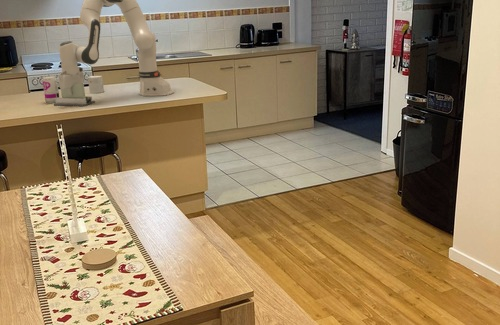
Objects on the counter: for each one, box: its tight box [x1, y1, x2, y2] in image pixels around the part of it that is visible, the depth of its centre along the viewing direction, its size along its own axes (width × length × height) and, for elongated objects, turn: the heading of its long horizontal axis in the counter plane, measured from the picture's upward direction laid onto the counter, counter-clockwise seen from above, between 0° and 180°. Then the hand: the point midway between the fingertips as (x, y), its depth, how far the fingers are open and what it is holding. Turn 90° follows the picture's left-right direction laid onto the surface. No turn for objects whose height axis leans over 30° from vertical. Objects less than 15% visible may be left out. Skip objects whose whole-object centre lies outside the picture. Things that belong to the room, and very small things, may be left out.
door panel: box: [60, 83, 86, 98], centre depth 316 cm, size 14×3×10 cm, turn 73°
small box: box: [87, 75, 105, 94], centre depth 353 cm, size 8×6×10 cm
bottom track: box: [53, 95, 96, 107], centre depth 318 cm, size 20×12×4 cm, turn 73°
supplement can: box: [42, 76, 60, 104], centre depth 325 cm, size 8×8×15 cm
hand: (73, 93), depth 316 cm, fingers closed on door panel, 3 cm apart
